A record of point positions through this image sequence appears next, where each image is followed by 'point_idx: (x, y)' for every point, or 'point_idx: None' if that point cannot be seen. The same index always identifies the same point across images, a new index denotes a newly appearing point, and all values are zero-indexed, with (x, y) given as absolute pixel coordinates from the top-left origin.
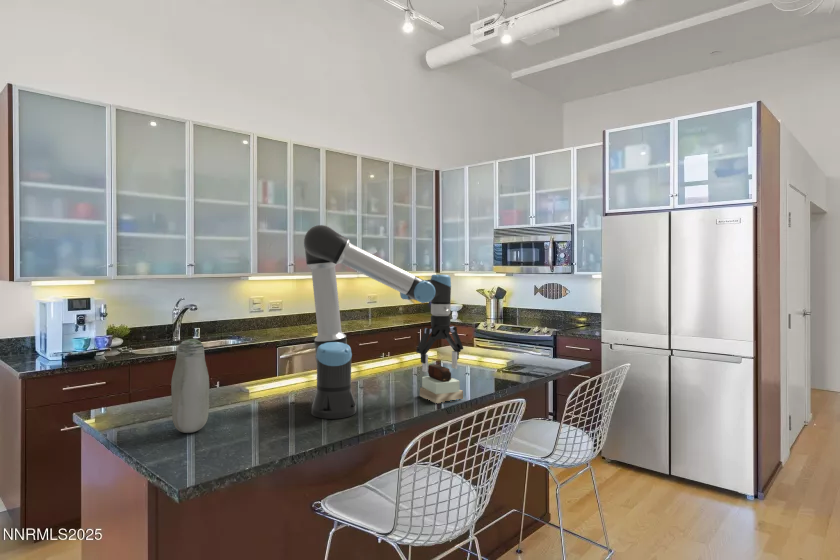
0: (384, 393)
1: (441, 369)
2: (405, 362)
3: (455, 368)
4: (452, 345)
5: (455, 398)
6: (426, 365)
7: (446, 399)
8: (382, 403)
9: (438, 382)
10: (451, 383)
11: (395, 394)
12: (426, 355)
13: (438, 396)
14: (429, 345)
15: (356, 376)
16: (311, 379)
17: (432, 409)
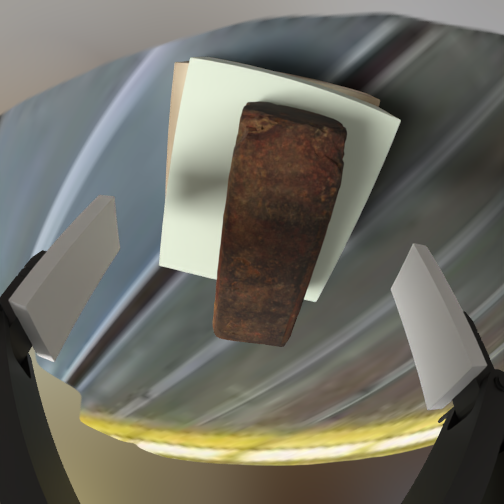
0: (383, 329)
1: (329, 181)
2: (122, 434)
3: (113, 199)
4: (25, 411)
5: None
6: (445, 283)
7: (302, 77)
8: (488, 247)
9: (363, 130)
10: (269, 72)
11: (371, 304)
12: (482, 362)
13: (362, 93)
14: (480, 476)
15: (289, 436)
16: (374, 442)
17: (446, 45)
